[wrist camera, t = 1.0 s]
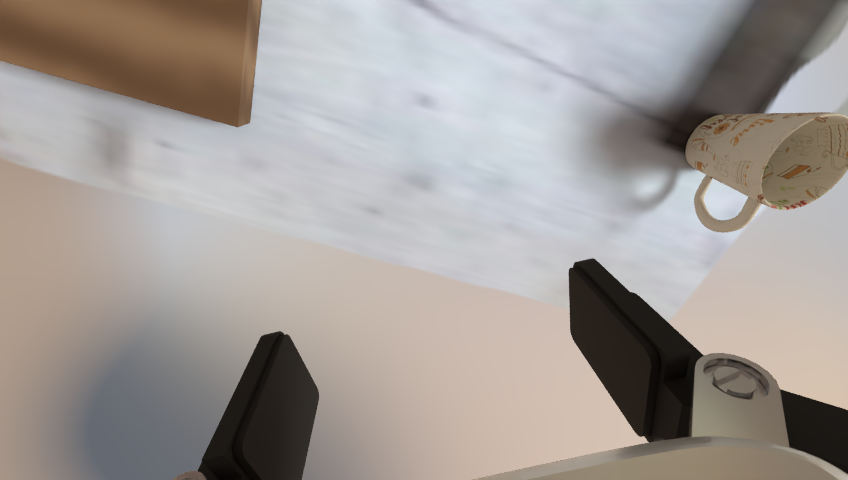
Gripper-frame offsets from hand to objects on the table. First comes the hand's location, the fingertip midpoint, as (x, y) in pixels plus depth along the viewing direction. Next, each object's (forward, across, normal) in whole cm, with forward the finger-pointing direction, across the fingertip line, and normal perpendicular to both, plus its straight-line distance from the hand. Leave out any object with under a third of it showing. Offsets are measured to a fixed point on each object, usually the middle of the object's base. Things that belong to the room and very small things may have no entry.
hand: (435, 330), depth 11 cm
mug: (+28, -33, +9) cm, 44 cm away
